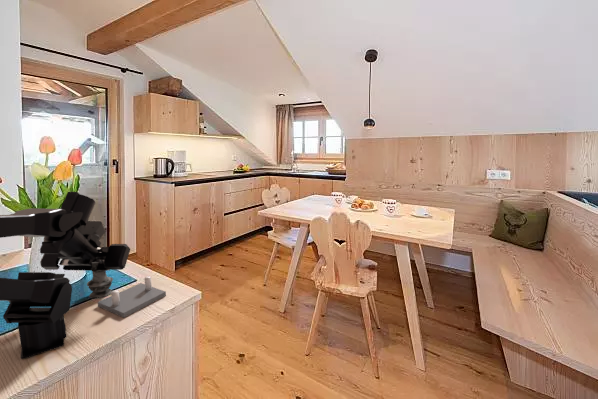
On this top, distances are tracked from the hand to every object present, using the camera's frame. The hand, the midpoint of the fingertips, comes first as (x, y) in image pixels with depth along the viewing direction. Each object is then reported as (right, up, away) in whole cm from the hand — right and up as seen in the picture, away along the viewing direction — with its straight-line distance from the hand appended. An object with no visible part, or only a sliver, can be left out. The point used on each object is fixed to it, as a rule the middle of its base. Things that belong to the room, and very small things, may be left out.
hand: (102, 268), depth 81 cm
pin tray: (+10, -8, -3) cm, 13 cm away
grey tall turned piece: (0, -7, 0) cm, 7 cm away
